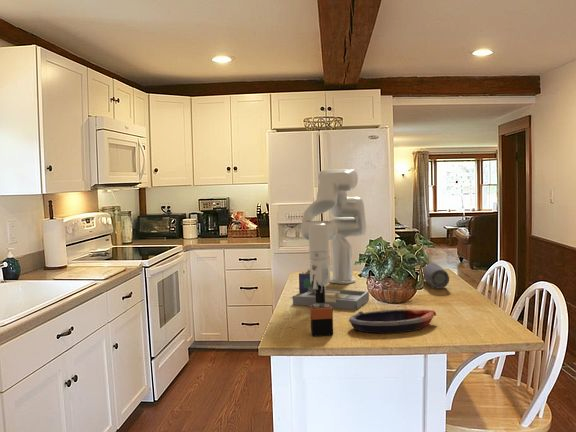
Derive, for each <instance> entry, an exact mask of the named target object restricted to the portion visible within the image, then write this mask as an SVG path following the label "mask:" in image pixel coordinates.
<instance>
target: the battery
mask: <svg viewBox="0 0 576 432" xmlns="http://www.w3.org/2000/svg"><path fill="white" fill-rule="evenodd" d="M309 307H310V309H309V310H310V333H311V335H312V337H327V336H330V337H331V336H333V335H334V317H333V309H334V308H332V307H331V306H330V305H329V304H324V305H322V306H320V305H319V304H313V306H309Z"/></svg>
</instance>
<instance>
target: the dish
mask: <svg viewBox="0 0 576 432" xmlns="http://www.w3.org/2000/svg"><path fill="white" fill-rule="evenodd" d="M436 316H437V313H436V311H435V310H431V309H415V308H414V309H413V308H412V309H411V308H408V309H407V308H402V309H399V308H397V309H394V308H393V309H383V310H381V309H380V310H372V311H366V312H365V311H364V312H363V311H358V313H355V314H353V315H351V316H350V317H349V318H348V321H349V323H350V325H351V327H352V328H353V329H355V330H357V331H360V332H366V333H376V334H377V333H378V334H387V333H401V332H403V333H404V332H409V331H410V332H411V331H416V330H419V329H423V328H425V327H426V326H428V325H429V324H431V322H432V321H433V319H434V317H436Z"/></svg>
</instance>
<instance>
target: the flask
mask: <svg viewBox="0 0 576 432" xmlns="http://www.w3.org/2000/svg"><path fill="white" fill-rule="evenodd" d="M308 287H311V288H313V286H312V285H311V283H310V268H309V269H307V271H302V272H299V273H298V289H299V294H300V295H302V294H304V293H306V292H307V291H308Z"/></svg>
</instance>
